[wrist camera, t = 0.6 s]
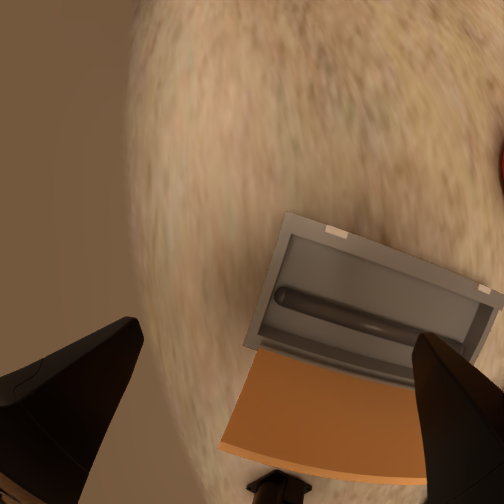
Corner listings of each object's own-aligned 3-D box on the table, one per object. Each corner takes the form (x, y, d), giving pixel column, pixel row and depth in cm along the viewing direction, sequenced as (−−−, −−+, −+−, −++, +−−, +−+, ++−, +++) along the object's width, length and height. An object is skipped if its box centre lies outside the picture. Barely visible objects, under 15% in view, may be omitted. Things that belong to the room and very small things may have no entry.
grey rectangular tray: (440, 383, 23) (456, 406, 18) (250, 330, 26) (239, 351, 22) (485, 286, 21) (510, 297, 17) (289, 212, 24) (285, 211, 20)
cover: (451, 391, 19) (445, 399, 19) (261, 341, 22) (257, 351, 22) (488, 471, 9) (479, 480, 9) (221, 440, 12) (217, 449, 12)
